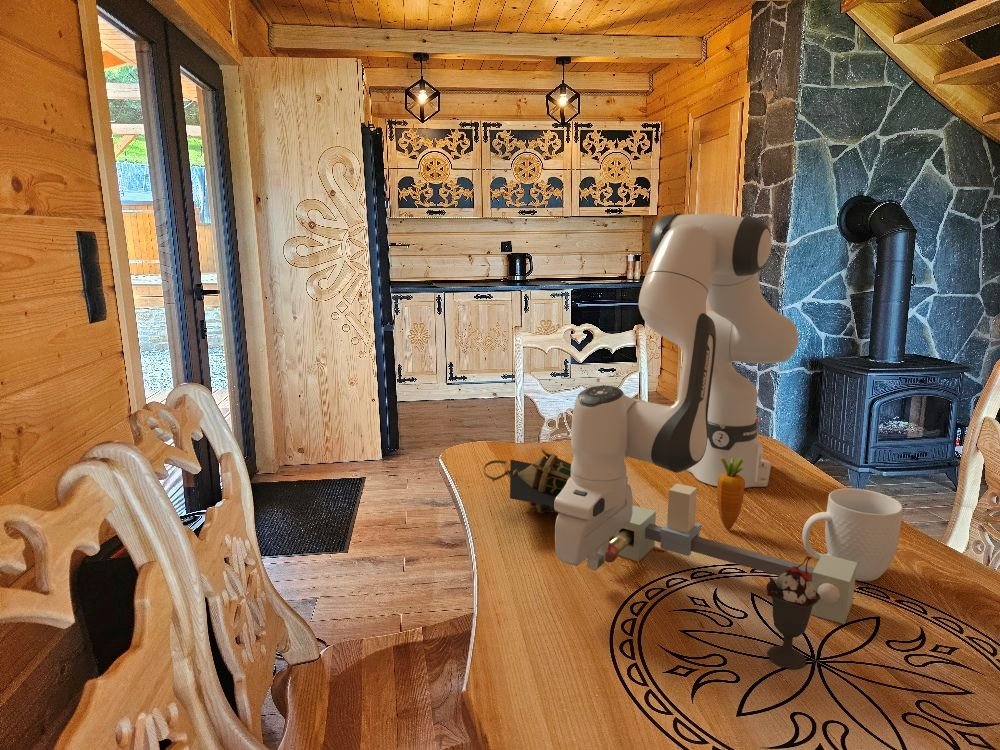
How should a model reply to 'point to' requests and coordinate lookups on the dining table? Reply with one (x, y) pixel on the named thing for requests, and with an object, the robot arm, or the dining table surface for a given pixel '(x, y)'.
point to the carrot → (730, 493)
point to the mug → (859, 530)
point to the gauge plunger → (618, 544)
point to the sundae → (791, 613)
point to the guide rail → (757, 564)
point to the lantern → (536, 480)
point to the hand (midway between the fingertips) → (596, 566)
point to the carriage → (680, 520)
